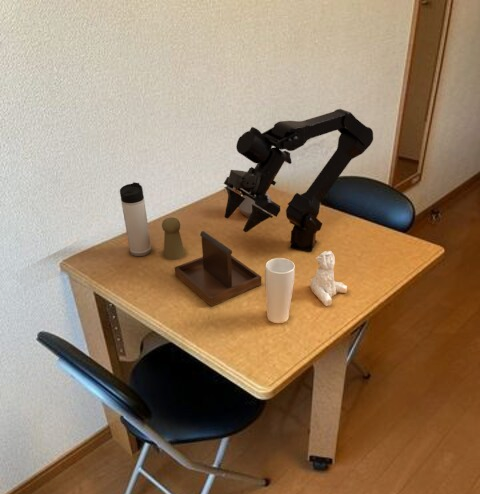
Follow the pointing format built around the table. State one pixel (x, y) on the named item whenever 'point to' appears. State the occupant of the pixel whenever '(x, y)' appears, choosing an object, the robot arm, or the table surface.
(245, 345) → the table surface
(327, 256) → the sitting furry creature
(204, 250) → the tray
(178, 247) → the olive game pawn
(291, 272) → the drinking glass
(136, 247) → the travel mug
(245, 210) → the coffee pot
